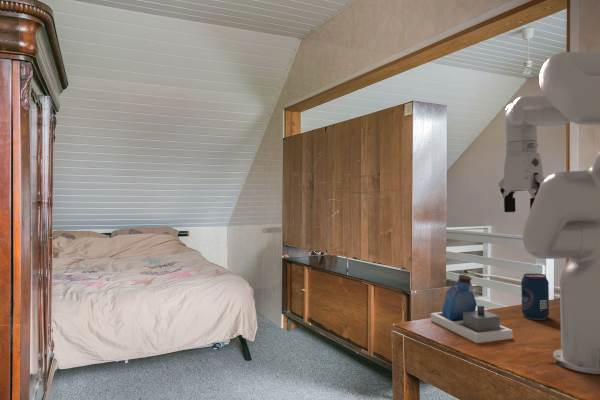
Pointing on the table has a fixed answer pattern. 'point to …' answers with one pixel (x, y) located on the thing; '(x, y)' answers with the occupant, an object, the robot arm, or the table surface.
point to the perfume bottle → (459, 299)
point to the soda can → (535, 296)
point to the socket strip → (470, 334)
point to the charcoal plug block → (481, 320)
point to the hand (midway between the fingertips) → (522, 212)
